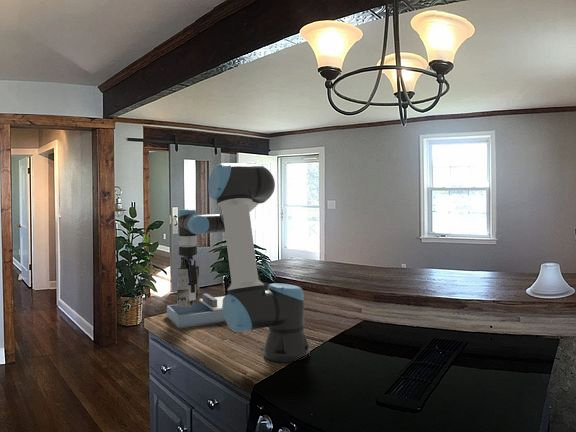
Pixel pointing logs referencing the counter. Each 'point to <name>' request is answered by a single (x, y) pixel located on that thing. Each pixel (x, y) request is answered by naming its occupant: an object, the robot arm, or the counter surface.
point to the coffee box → (186, 288)
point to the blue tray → (194, 315)
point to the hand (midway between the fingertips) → (188, 297)
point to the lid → (212, 302)
